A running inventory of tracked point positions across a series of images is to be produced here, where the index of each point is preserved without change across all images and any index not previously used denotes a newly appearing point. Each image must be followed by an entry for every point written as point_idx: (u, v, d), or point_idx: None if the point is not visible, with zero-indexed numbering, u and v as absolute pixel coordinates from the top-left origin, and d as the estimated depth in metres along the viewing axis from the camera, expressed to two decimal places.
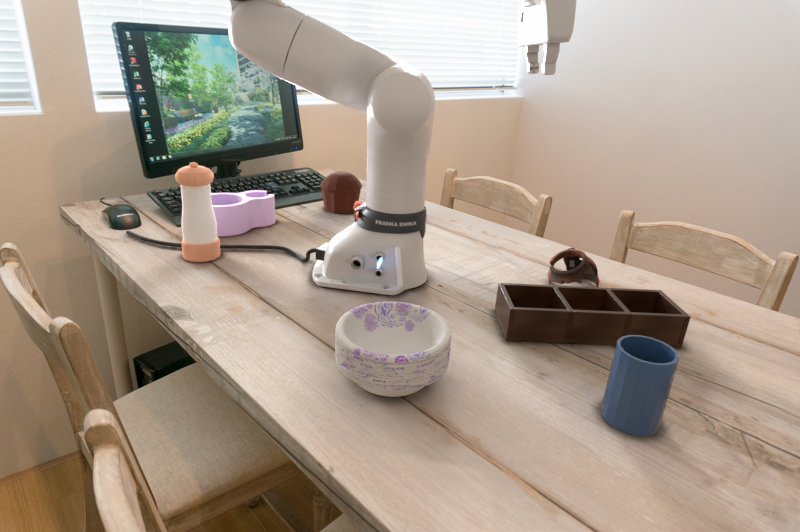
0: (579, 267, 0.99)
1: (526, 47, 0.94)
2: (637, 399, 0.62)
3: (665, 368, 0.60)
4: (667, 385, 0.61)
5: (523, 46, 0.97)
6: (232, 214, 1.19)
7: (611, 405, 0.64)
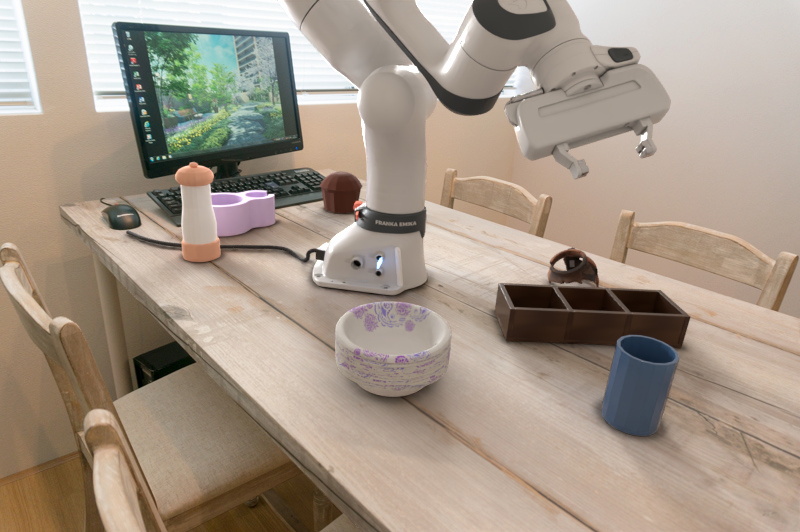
0: (579, 267, 0.99)
1: (562, 144, 0.67)
2: (637, 399, 0.62)
3: (665, 368, 0.60)
4: (667, 385, 0.61)
5: (537, 151, 0.67)
6: (232, 214, 1.19)
7: (611, 405, 0.64)
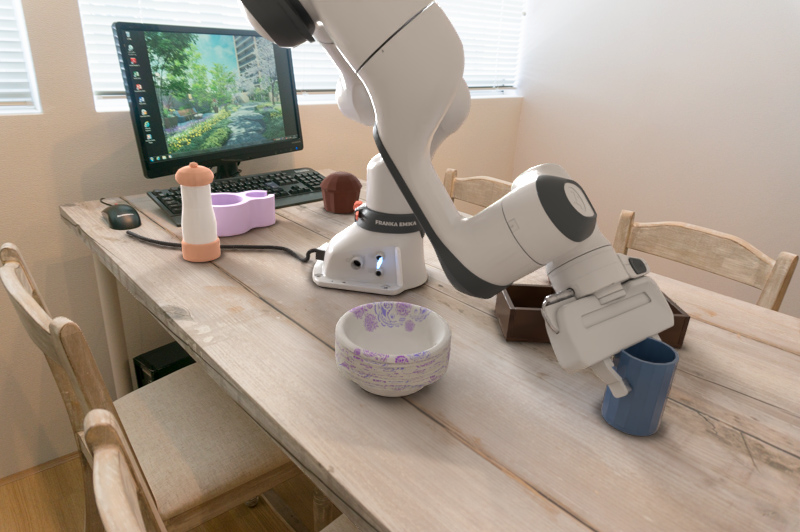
0: None
1: (607, 359, 0.61)
2: (637, 399, 0.62)
3: (665, 368, 0.60)
4: (667, 385, 0.61)
5: (584, 368, 0.60)
6: (232, 214, 1.19)
7: (611, 405, 0.64)
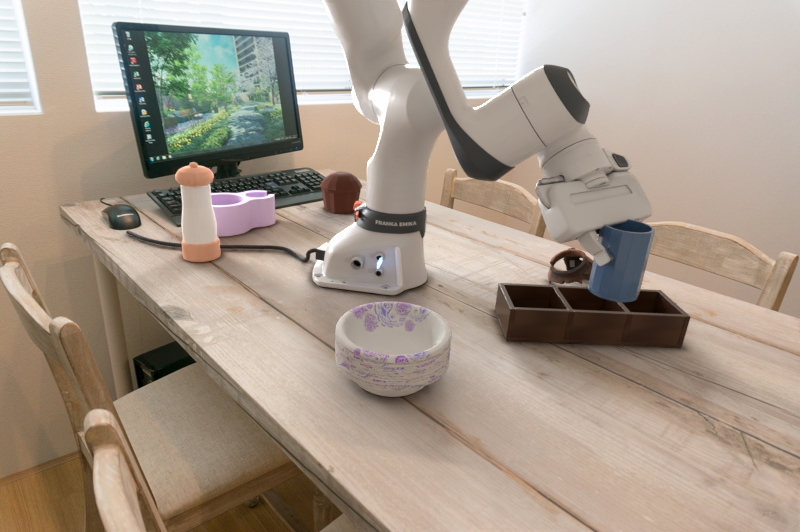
0: (579, 267, 0.99)
1: (592, 232, 0.71)
2: (618, 267, 0.71)
3: (642, 236, 0.69)
4: (644, 254, 0.70)
5: (572, 236, 0.69)
6: (232, 214, 1.19)
7: (596, 277, 0.74)
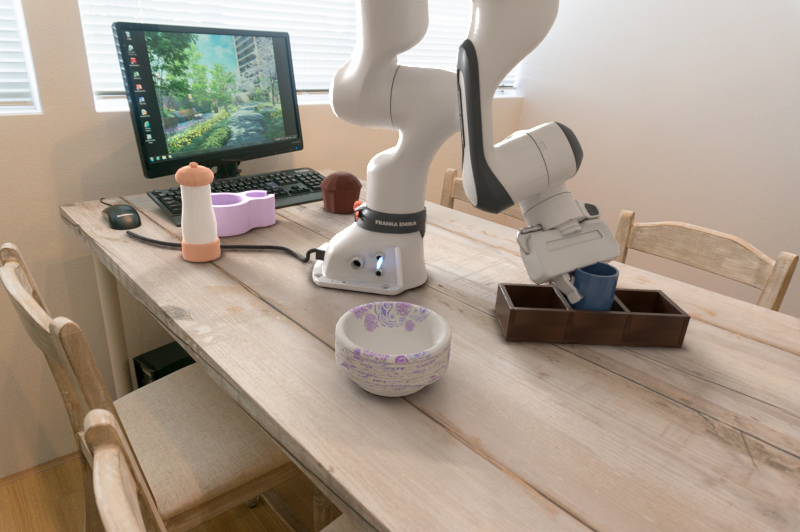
0: None
1: (565, 275, 0.82)
2: (588, 304, 0.83)
3: (607, 279, 0.81)
4: (610, 293, 0.82)
5: (547, 279, 0.81)
6: (232, 214, 1.19)
7: None
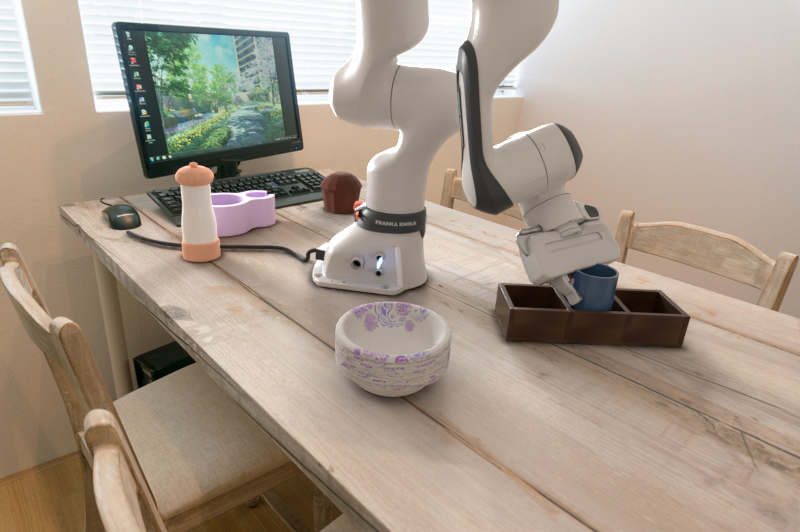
0: None
1: (565, 276, 0.82)
2: (587, 306, 0.82)
3: (607, 280, 0.80)
4: (609, 295, 0.82)
5: (546, 280, 0.80)
6: (232, 214, 1.19)
7: None
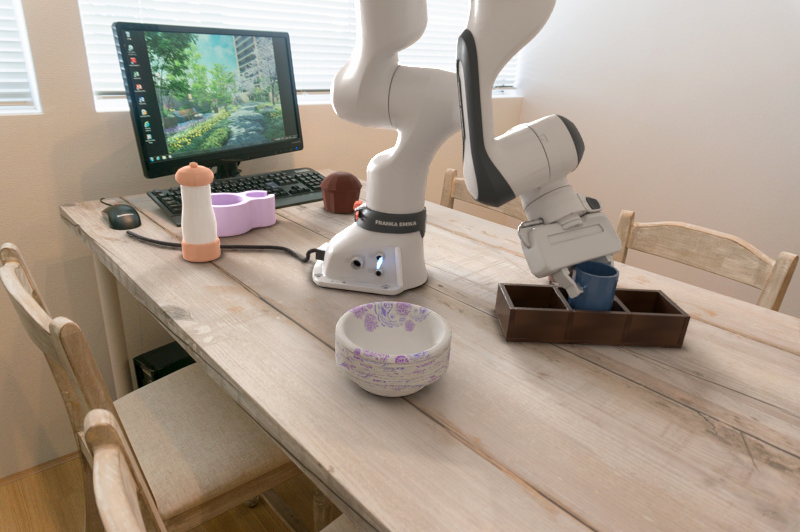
0: None
1: (565, 269, 0.82)
2: (588, 305, 0.83)
3: (607, 279, 0.81)
4: (610, 294, 0.82)
5: (549, 272, 0.80)
6: (232, 214, 1.19)
7: None
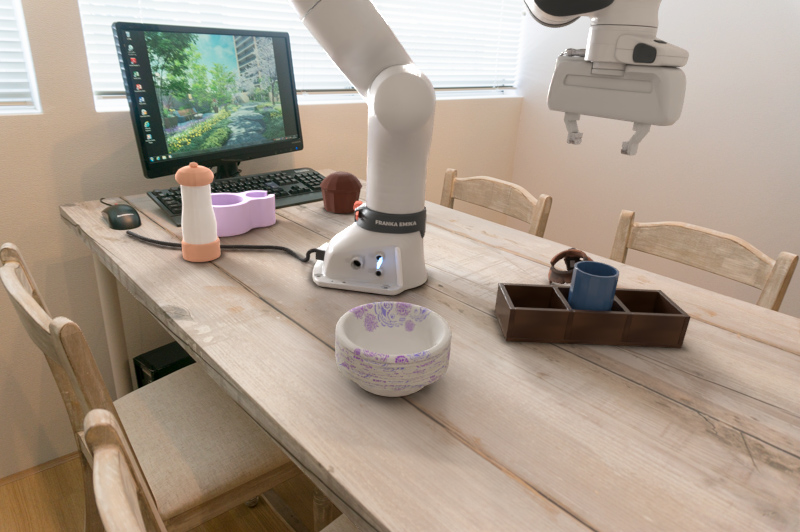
0: None
1: (569, 114, 0.82)
2: (588, 305, 0.83)
3: (607, 279, 0.81)
4: (610, 294, 0.82)
5: None
6: (233, 214, 1.19)
7: None
